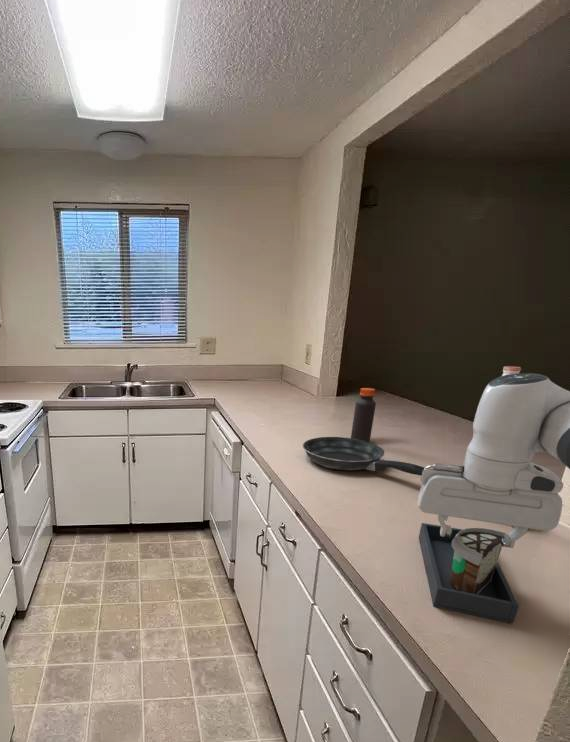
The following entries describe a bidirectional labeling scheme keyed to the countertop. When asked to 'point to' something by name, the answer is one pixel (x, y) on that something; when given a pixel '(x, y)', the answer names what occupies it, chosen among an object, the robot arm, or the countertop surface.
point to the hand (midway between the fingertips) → (474, 540)
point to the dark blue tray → (487, 604)
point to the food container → (474, 558)
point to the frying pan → (353, 455)
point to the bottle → (364, 415)
